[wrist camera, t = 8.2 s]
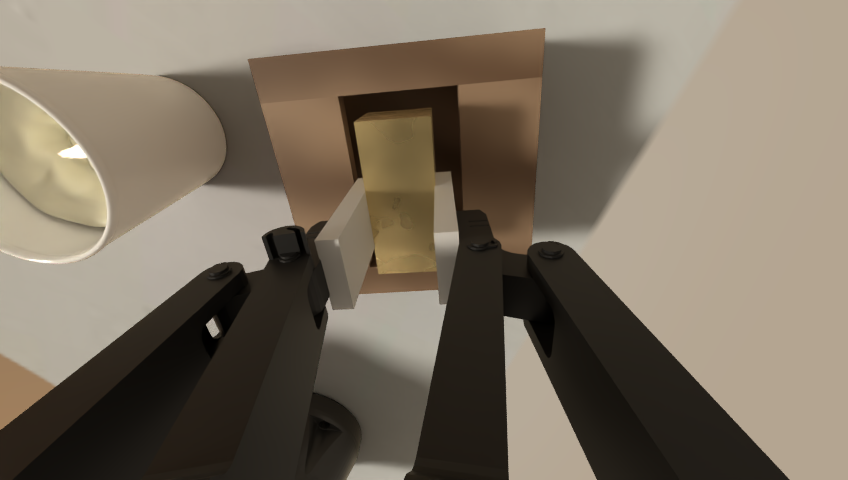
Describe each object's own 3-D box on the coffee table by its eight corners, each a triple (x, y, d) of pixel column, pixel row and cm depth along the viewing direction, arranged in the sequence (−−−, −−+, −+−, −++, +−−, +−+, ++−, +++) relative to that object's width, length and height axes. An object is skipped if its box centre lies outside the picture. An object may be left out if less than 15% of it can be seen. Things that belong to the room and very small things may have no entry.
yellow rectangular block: (432, 107, 16) (430, 115, 13) (440, 241, 19) (440, 271, 16) (367, 112, 16) (353, 122, 13) (386, 244, 19) (378, 274, 16)
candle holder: (242, 91, 25) (101, 109, 15) (233, 207, 30) (118, 286, 19) (103, 43, 24) (-161, 23, 13) (114, 170, 28) (-79, 233, 18)
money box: (503, 225, 30) (528, 284, 22) (346, 236, 31) (315, 296, 23) (507, 41, 23) (545, 28, 15) (309, 61, 24) (247, 59, 16)
